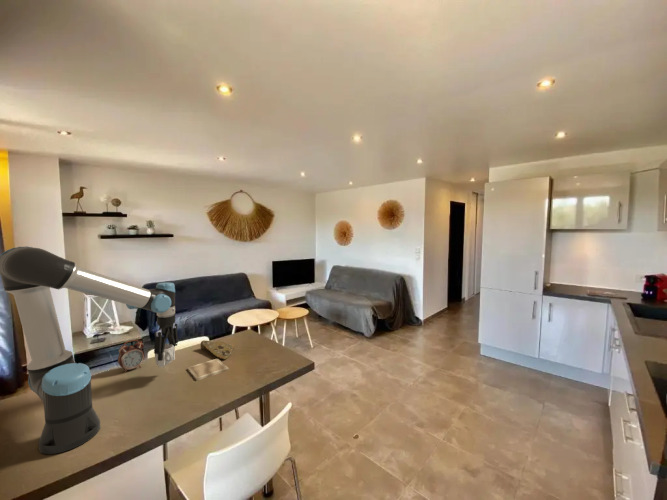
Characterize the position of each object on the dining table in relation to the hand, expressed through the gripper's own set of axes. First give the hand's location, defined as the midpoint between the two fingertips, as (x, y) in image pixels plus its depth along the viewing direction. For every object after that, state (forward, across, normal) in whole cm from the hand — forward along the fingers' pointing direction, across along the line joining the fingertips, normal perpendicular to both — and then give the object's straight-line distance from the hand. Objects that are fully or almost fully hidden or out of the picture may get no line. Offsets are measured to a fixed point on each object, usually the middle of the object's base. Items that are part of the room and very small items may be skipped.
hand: (166, 362), depth 134 cm
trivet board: (+7, +8, -16) cm, 19 cm away
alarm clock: (+7, +7, +23) cm, 25 cm away
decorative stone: (+8, +29, -13) cm, 33 cm away
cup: (+1, -1, 0) cm, 1 cm away
